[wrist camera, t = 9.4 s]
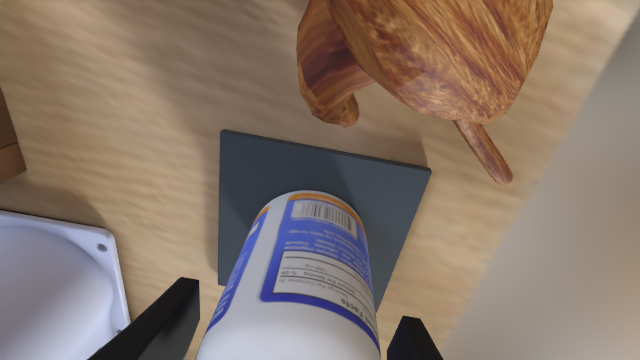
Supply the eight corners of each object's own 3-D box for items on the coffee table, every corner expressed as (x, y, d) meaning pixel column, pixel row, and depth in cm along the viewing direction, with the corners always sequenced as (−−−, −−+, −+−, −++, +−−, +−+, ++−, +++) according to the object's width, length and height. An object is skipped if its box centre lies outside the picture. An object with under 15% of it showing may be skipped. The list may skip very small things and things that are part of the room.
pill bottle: (291, 287, 16) (237, 581, 8) (232, 213, 14) (69, 501, 6) (384, 254, 15) (443, 572, 6) (333, 165, 13) (316, 458, 4)
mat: (376, 307, 17) (376, 313, 17) (220, 279, 17) (217, 284, 17) (429, 167, 13) (432, 171, 13) (223, 128, 13) (219, 131, 12)
